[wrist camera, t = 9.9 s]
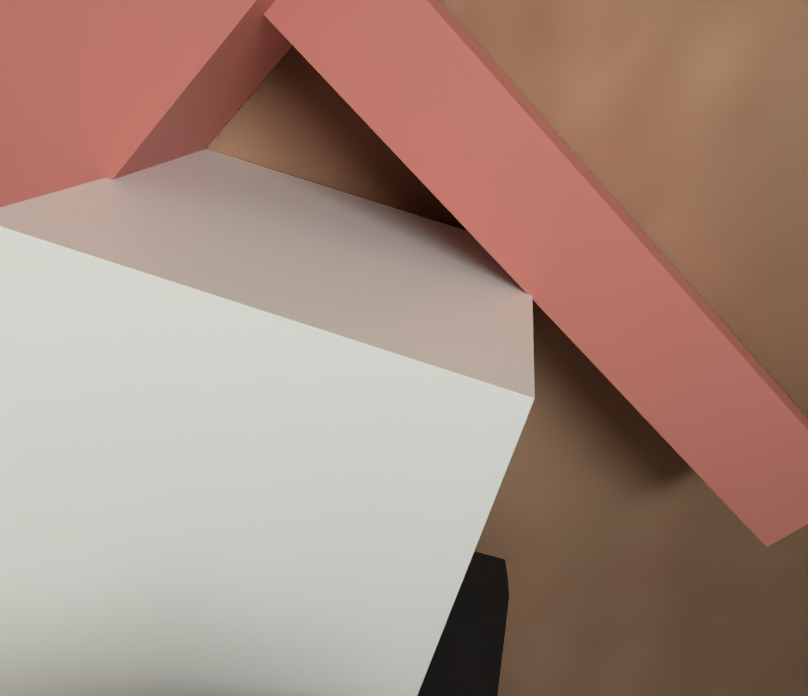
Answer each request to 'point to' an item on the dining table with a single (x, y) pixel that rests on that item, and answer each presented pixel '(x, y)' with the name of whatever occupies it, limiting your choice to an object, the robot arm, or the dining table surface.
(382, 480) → the white rectangular block
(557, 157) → the pink u-shaped block
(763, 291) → the dining table surface
